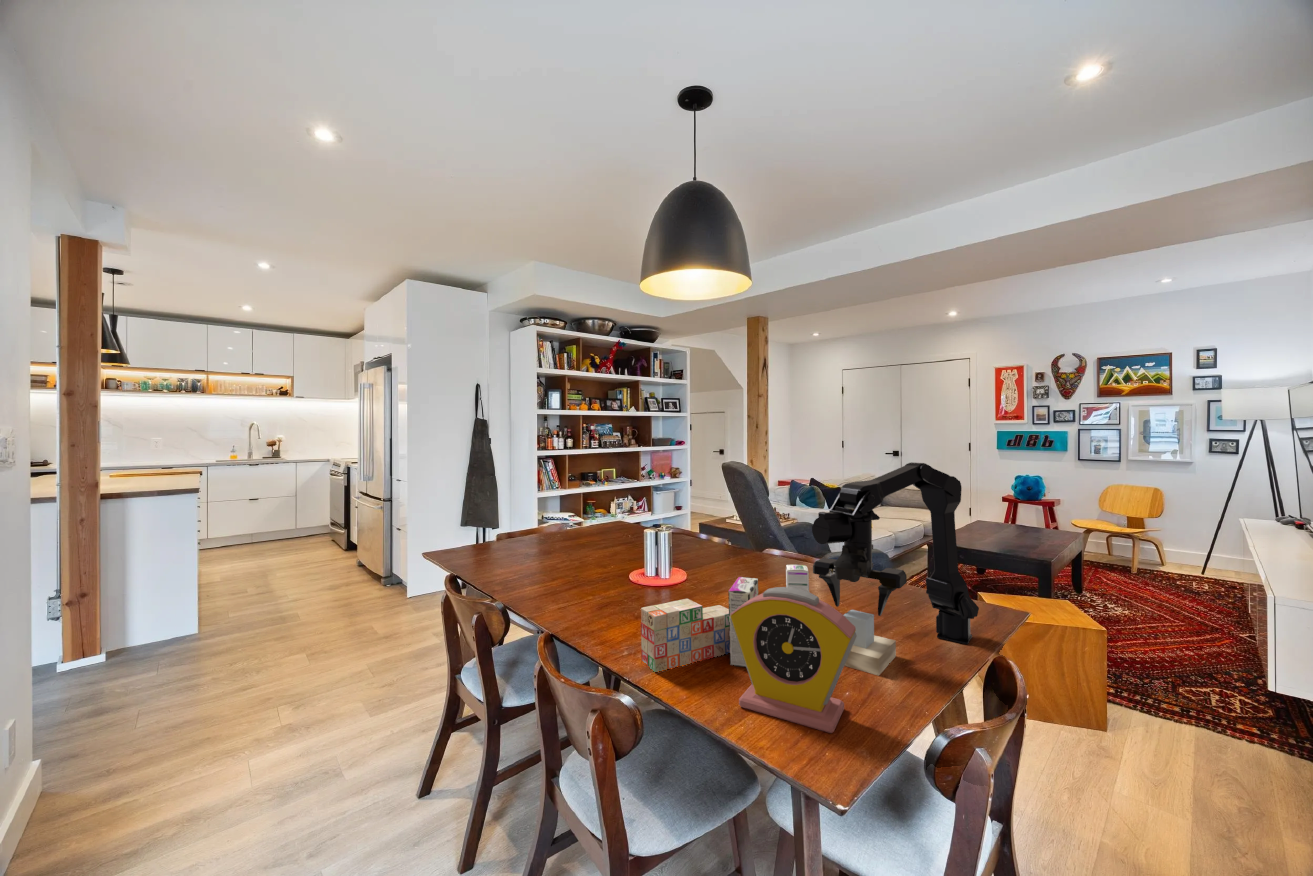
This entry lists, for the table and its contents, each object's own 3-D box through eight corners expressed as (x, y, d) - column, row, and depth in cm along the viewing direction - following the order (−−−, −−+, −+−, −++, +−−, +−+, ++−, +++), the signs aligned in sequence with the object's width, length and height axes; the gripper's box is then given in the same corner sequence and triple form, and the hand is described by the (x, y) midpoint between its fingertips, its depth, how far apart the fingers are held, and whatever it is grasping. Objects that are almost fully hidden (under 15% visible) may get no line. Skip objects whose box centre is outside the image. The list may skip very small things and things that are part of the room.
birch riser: (895, 658, 112) (895, 640, 112) (878, 678, 103) (878, 658, 103) (842, 644, 120) (842, 627, 120) (822, 661, 111) (821, 643, 111)
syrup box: (810, 626, 131) (810, 570, 131) (786, 624, 132) (786, 569, 132) (808, 618, 136) (808, 564, 136) (785, 617, 137) (785, 563, 137)
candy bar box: (738, 645, 119) (738, 576, 119) (759, 648, 117) (759, 578, 117) (728, 665, 108) (727, 589, 108) (751, 669, 107) (750, 592, 107)
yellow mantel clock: (724, 703, 93) (724, 587, 93) (743, 682, 101) (742, 575, 101) (850, 740, 82) (849, 607, 81) (860, 713, 89) (859, 592, 89)
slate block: (874, 641, 112) (873, 614, 112) (865, 648, 108) (865, 620, 108) (851, 635, 115) (851, 609, 115) (842, 642, 112) (842, 615, 112)
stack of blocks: (720, 643, 121) (719, 591, 121) (736, 652, 115) (736, 599, 115) (640, 662, 110) (640, 606, 110) (654, 674, 105) (654, 615, 105)
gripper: (802, 540, 112) (802, 611, 112) (891, 553, 100) (892, 632, 100) (822, 533, 120) (822, 598, 120) (907, 544, 108) (907, 616, 108)
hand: (858, 610), depth 112 cm, fingers open, 9 cm apart
